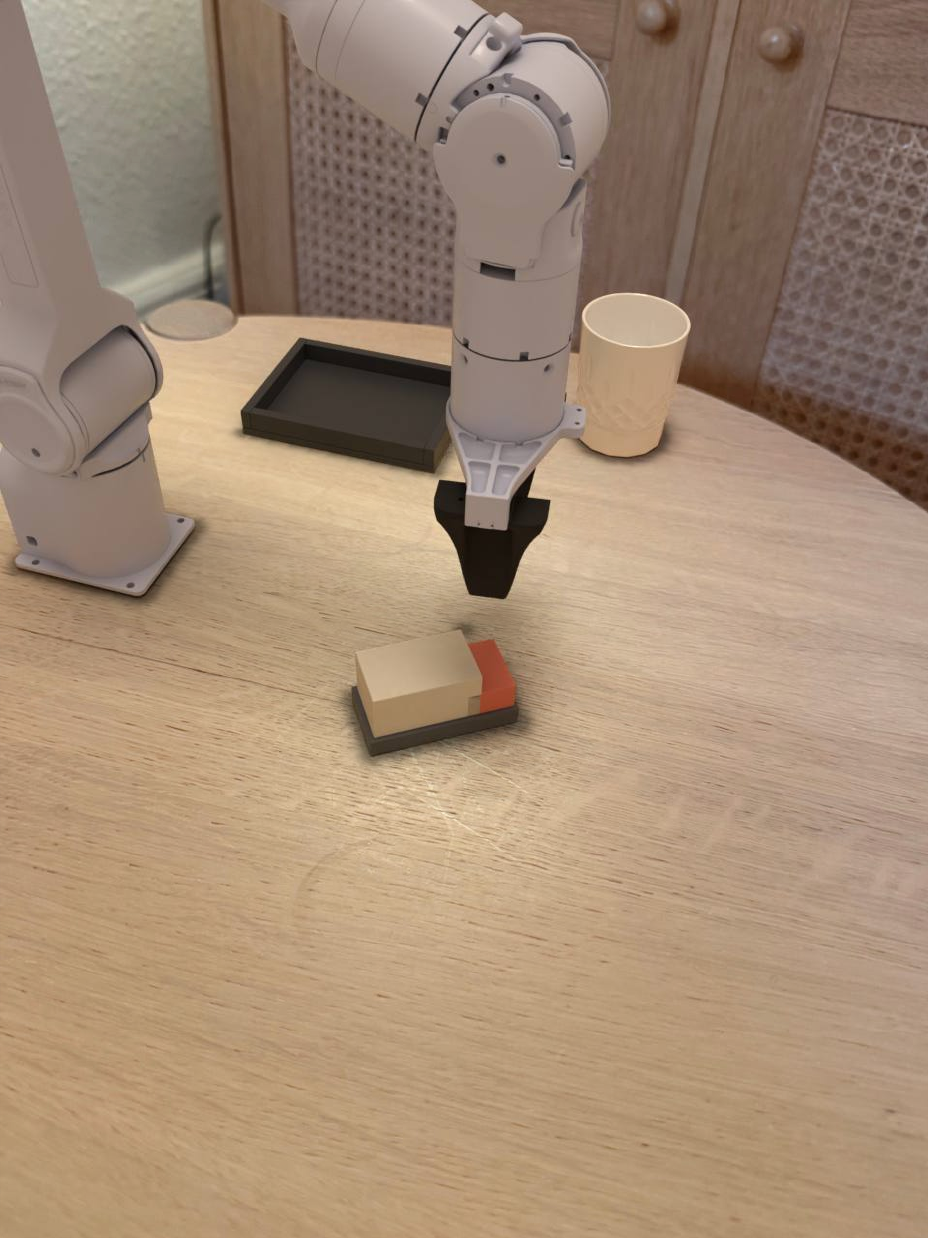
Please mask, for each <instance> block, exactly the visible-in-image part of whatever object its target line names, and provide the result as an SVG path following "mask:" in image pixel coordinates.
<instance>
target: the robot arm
mask: <svg viewBox="0 0 928 1238" xmlns="http://www.w3.org/2000/svg"><path fill="white" fill-rule="evenodd" d="M258 1H259V2H261V3H262V4H264V5H266V6H268V7H269V8H271V9H272V10H274V11H275V12H277V13H279V14H280V15H282V16H284V17H285V18H286V19H287V21H288V23H289V25H290V28H291V32H292V36H293V40H294V43H295V48H296V52H297V54H298V57H299V59H300V62H301V64H302V65H303V66H304V67H306V68H307V69H308V70H310V71H311V72H313V73H315V74H316V75H317V76H319V77H320V78H321V79H322V80H324V81H325V82H328V84H330V85H331V86H333V87H334V88H335V89H337V90H338V91H340V92H341V93H342V94H344V95H345V96H347V97H348V98H349V99H351V100H352V101H354V102H355V103H357V104H358V105H359V106H361V107H363V108H364V109H365V110H366V111H368V112H369V113H371V114H372V115H374V116H376V117H377V118H378V119H380V120H381V121H382V122H383V123H385V124H387V125H388V126H389V127H391V128H392V129H394V130H395V131H397V132H398V133H400V134H401V135H402V136H404V137H405V138H406V139H408V140H409V141H411V142H412V143H414V144H415V145H417V146H418V147H419V148H421V149H422V150H424V151H425V152H426V153H428V154H430V155H431V156H433V162H434V167H435V171H436V173H437V176H438V180H439V182H440V184H441V186H442V188H443V190H444V191H445V193H446V195H447V196H448V198H449V199H450V201H451V202H452V203H453V206H454V208H455V210H456V217H455V218H456V219H455V234H454V249H453V250H454V252H453V253H454V256H453V289H452V291H453V292H452V326H451V363H450V364H451V365H450V366H451V396H450V397H449V399H448V401H447V406H446V423H447V427H448V430H449V433H450V436H451V439H452V440H451V442H452V446H453V447H454V451H455V454H456V457H457V460H458V463H459V466H460V469H461V472H462V476H463V478H464V481H458V480H448V479H439V480H438V482H437V485H436V489H435V492H434V497H433V512H434V517H435V520H436V522H437V523H438V524H439V525H440V526H441V528H443V529H444V531H445V532H446V534H447V535H448V536H449V539H450V540H451V542H452V545H453V546H454V548H455V551H456V554H457V558H458V562H459V565H460V569H461V573H462V577H463V582H464V585H465V587H466V591H467V592H468V593H467V594H468V595H469V596H473V597H482V598H489V599H495V600H506V599H507V597H508V595H509V593H510V591H511V589H512V587H513V585H514V582H515V580H516V575H517V573H518V569H519V566H520V563H521V561H522V559H523V556H524V553H525V552H526V551H527V549H528V547H529V546H530V544H531V543H533V541H534V540H536V538H537V537H538V536H540V535H541V533H542V532H543V530H544V529H545V527H546V525H547V522H548V520H549V514H550V507H551V501H552V500H551V499H548V498H547V499H546V498H539V497H532V496H531V497H530V496H529V495H530V491H531V487H532V484H533V480H534V476H535V472H536V469H537V466H538V465H539V464H540V463H541V462H542V461H543V460H544V458H545V457H546V456H547V455H548V454H549V453H550V451H551V450H552V449H553V448H554V446H555V445H556V444H557V443H558V442H559V441H560V440H562V439H564V438H565V439H573V440H574V439H579V438H580V437H582V436H583V434H584V430H585V422H586V414H587V412H586V409H585V408H583V407H582V406H578V404H577V405H576V404H570V403H567V396H568V395H567V386H568V385H567V383H568V377H569V376H568V375H569V366H570V357H571V348H572V340H573V333H574V324H575V317H576V307H577V297H578V291H579V290H578V289H579V281H580V272H581V271H580V270H581V265H582V264H581V262H582V254H583V244H584V243H583V240H584V239H583V225H584V224H583V223H584V218H585V208H586V199H587V198H586V197H587V191H588V190H587V188H588V182H587V180H586V179H584V178H581V177H582V176H583V174H584V173H585V172H586V171H587V169H588V168H589V167H590V166H591V164H592V163H593V161H595V159H596V157H597V156H598V154H599V152H600V151H601V149H602V147H603V144H604V142H605V140H606V138H607V135H608V134H609V133H608V132H609V128H610V124H611V117H612V116H611V115H612V106H611V104H612V103H611V97H610V92H609V89H608V86H607V83H606V80H605V78H604V76H603V75H602V73H601V71H600V69H599V68H598V67H597V65H596V64H595V63H594V62H593V60H592V59H591V58H590V56H588V55H587V54H586V53H584V51H582V50H581V48H580V47H579V46H578V44H577V43H576V41H575V40H574V38H572V37H569V36H567V35H565V34H560V33H556V32H545V31H544V32H535V33H530V34H523V35H522V33H523V31H524V30H523V29H524V26H523V24H522V23H521V22H519V21H518V20H517V19H515V17H512V16H511V14H508V13H507V12H505V11H504V12H502V13H500V14H499V15H498V16H496V17H495V16H494V15H493V14H491V13H489V11H487V10H486V9H484V8H483V7H482V6H480V5H479V4H477V3H476V2H474V0H258ZM27 21H28V20H27V17H26V13H25V10H24V7H23V3H22V0H0V445H1V448H0V494H1V497H2V499H3V502H4V506H5V509H6V511H7V514H8V517H9V520H10V523H11V526H12V529H13V531H14V534H15V537H16V541H17V543H18V546H19V549H20V553H19V554H18V555H17V556H16V558H15V559H14V563H15V565H16V567H17V568H18V569H24V570H27V571H31V572H35V573H40V574H44V575H47V576H52V577H57V578H59V579H65V580H69V581H73V582H77V583H81V584H85V585H88V586H93V587H98V588H100V589H105V590H110V591H113V592H117V593H121V594H126V595H129V596H134V597H141V596H142V595H144V594H146V592H147V591H148V590H149V588H150V587H151V585H152V584H153V583H154V581H155V580H156V579H157V577H158V576H159V575H160V574H161V572H162V571H163V570H164V568H165V567H166V566H167V564H169V562H170V560H171V559H172V558H173V556H174V555H175V554H176V552H177V551H178V549H179V548H180V547H181V546H182V544H183V543H184V542H185V540H186V539H187V538H188V537H189V535H190V534H191V533H192V531H193V530H194V529H195V527H196V523H195V519H194V518H192V517H188V516H184V515H178V514H174V513H170V512H166V511H167V510H166V506H165V502H164V497H163V491H162V487H161V481H160V477H159V472H158V468H157V463H156V458H155V454H154V448H153V444H152V440H151V434H150V429H149V424H150V422H151V421H152V420H153V417H154V416H153V413H152V408H151V404H150V403H151V402H150V401H152V400H153V399H155V398H156V397H157V396H158V395H159V393H160V391H161V390H162V387H163V384H164V378H165V377H164V368H163V364H162V361H161V358H160V355H159V353H158V351H157V350H156V348H155V346H154V345H153V343H152V342H151V340H150V339H149V337H148V336H147V334H146V333H145V332H144V329H143V327H142V325H141V323H140V321H139V318H138V314H137V311H136V306H135V303H134V302H133V300H132V299H131V298H129V297H127V296H125V295H123V294H121V293H119V292H117V291H115V290H114V289H110V288H107V287H105V286H102V285H101V284H100V281H99V280H100V279H99V278H98V277H99V276H98V273H97V269H96V266H95V262H94V258H93V255H92V251H91V248H90V244H89V240H88V236H87V233H86V229H85V226H84V223H83V219H82V215H81V211H80V208H79V205H78V201H77V197H76V194H75V190H74V187H73V183H72V179H71V176H70V171H69V168H68V165H67V162H66V158H65V153H64V150H63V146H62V144H61V140H60V136H59V133H58V129H57V125H56V121H55V118H54V114H53V111H52V107H51V103H50V99H49V97H48V93H47V89H46V86H45V82H44V78H43V74H42V71H41V67H40V63H39V60H38V57H37V54H36V50H35V47H34V43H33V39H32V36H31V32H30V28H29V24H28V22H27Z"/></svg>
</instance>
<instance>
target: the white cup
mask: <svg viewBox="0 0 928 1238" xmlns="http://www.w3.org/2000/svg"><path fill="white" fill-rule="evenodd" d="M691 325H692V324H691V320H690V317H689V316H688V314H687V313H686V312H685V311H684V310H683V309H682V308H680V307H679V306H678V305H676V304H675V303H674V302H671V301H669V300H667V299H664V298H661V297H658V296H654V295H651V294H645V293H639V292H617V293H616V292H615V293H611V294H606V295H603V296H599V297H598V298H595V299H593V300H591V301H590V302H588V303H587V304H586V305H585V307H584V308H583V310H582V313H581V324H580V340H579V354H578V365H577V367H578V368H577V389H576V402H577V405H578V406H582V407H583V408H585V409H586V412H587V414H586V422H585V430H584V434H583V436H582V437H580V438H578V439H579V440H580V441H581V442H583V443H584V444H585V445H586V446H587V447H588V448H589V449H590V450H593V451H596V452H598V453H601V454H603V455H606V456H609V457H621V458H630V457H637V456H641V455H645V454H647V453H649V452H650V451H652V450H653V449H655V448H656V447H658V445H659V442H660V441H661V438H662V435H663V431H664V427H665V423H666V419H667V415H669V412H670V409H671V405H672V401H673V398H674V394H675V391H676V387H677V383H678V379H679V375H680V371H681V368H682V363H683V359H684V355H685V351H686V347H687V344H688V338H689V334H690V331H691Z"/></svg>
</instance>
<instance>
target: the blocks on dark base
mask: <svg viewBox="0 0 928 1238" xmlns="http://www.w3.org/2000/svg"><path fill="white" fill-rule="evenodd" d="M354 656H355V673H356V674H355V675H356V685H353V686H352V685H351V687H350V690H351V692H350V693H351V701H352V704H353V707H354V710H355V713H356V716H357V719H358V721H359V725H360V728H361V731H362V734H363V736H364V740H365V742H366V745H367V748H368V752H369V754H370V756H371V757H373V756H376V755H377V756H378V755H381V754H385V753H389V752H395V751H398V750H402V749H408V748H410V747H415V746H419V745H423V744H428V743H432V742H436V741H441V740H445V739H449V738H453V737H458V736H461V735H462V736H463V735H466V734H469V733H474V732H478V731H482V730H487V729H491V728H495V727H501V726H503V725H507V724H512V723H515V722H518V720H519V710H520V707H519V706H518V704H517V701H516V690H517V684H516V683H515V681H514V678H513V676H512V674H511V672H510V670H509V668H508V666H507V664H506V662H505V660H504V658H503V655H502V653H501V652H500V650H499V647H498V645H497V643H496V641H495V639H494V638H489V639H485V640H480V641H476V642H471V643H468V642H467V640H466V638H465V635H464V633H463V631H462V629H460V628H459V629H456V630H450V631H446V632H441V633H436V634H432V635H426V636H423V637H418V638H412V639H408V640H404V641H403V640H402V641H399V642H393V643H389V644H384V645H379V646H376V647H375V646H374V647H370V648H366V649H365V648H364V649H361V650H356V651H355V652H354Z"/></svg>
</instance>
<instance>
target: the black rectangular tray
mask: <svg viewBox="0 0 928 1238" xmlns="http://www.w3.org/2000/svg"><path fill="white" fill-rule="evenodd" d="M450 396H451V365H448V364H443V363H438V362H433V361H427V360H422V359H418V358H417V359H416V358H412V357H406V356H401V355H395V354H390V353H385V352H380V351H374V350H369V349H368V350H367V349H363V348H359V347H352V346H347V345H343V344H337V343H331V342H326V341H322V340H317V339H311V338H305V337H299V338H298V339H297V340H296V341H295V342H294V344H293V345H292V346H291V347H290V349H289V350H288V351H287V353H285V355H284V356H283V357H282V359H281V360H279V362H278V364H277V365H276V366H275V367H274V369H273V370H272V371H271V372H270V373H269V375H268V376H267V377H266V378H265V380H264V381H263V382H262V383H261V384H260V385H259V387H258V388H257V390H256V391H255V392H254V393H253V394H252V396H251V397H250V398H249V399H248V400H247V402H246V403H245V404H244V406H243V407H242V408H241V410H240V418H241V425H242V434H245V435H250V436H255V437H259V438H263V439H269V440H273V441H278V442H284V443H288V444H292V445H298V446H303V447H308V448H311V449H317V450H322V451H326V452H332V453H336V454H341V455H345V456H350V457H354V458H355V457H356V458H359V459H360V458H361V459H365V460H369V461H375V462H380V463H384V464H389V465H392V466H399V467H403V468H407V469H413V470H417V471H423V472H427V473H432V474H434V473H435V471H436V469H437V468H438V466H439V465H440V462H441V460H442V458H443V457H444V455H445V453H446V451H447V449H448V447H449V445H450V443H451V442H452V439H451V436H450V433H449V430H448V427H447V423H446V406H447V401H448V399H449V397H450Z"/></svg>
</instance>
